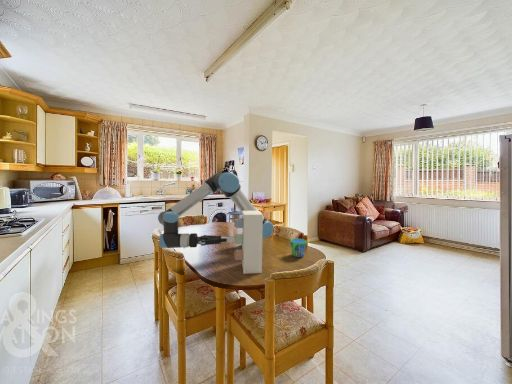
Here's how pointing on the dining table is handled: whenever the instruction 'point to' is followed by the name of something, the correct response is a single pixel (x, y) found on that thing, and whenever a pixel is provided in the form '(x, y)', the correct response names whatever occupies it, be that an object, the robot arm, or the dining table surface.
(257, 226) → the button pillar
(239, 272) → the dining table surface
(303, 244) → the snack cup
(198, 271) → the dining table surface
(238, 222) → the slate button
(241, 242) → the sage button
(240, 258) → the terracotta button
